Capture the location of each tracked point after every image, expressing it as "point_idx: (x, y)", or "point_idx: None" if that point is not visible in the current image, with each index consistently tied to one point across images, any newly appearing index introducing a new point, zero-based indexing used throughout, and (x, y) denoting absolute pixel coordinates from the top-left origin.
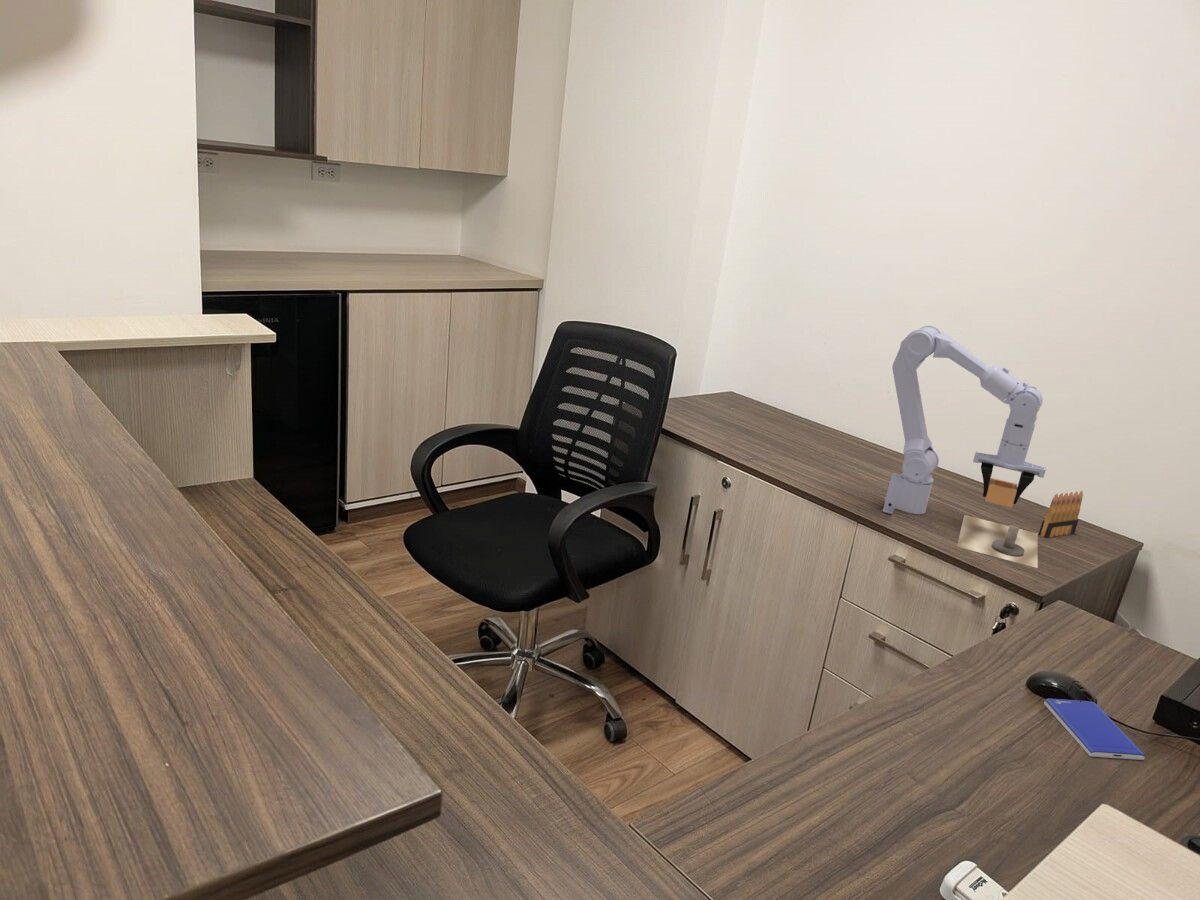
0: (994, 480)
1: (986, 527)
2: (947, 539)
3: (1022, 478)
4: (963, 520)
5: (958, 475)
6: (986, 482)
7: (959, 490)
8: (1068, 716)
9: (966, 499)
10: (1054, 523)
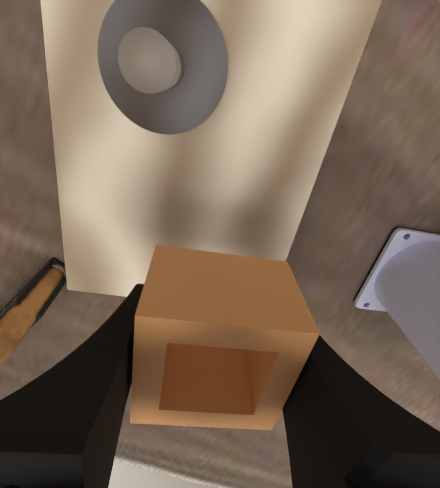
0: (259, 408)
1: None
2: (358, 125)
3: (78, 428)
4: None
5: (224, 482)
6: (328, 358)
7: (234, 436)
8: None
9: None
10: (1, 314)
